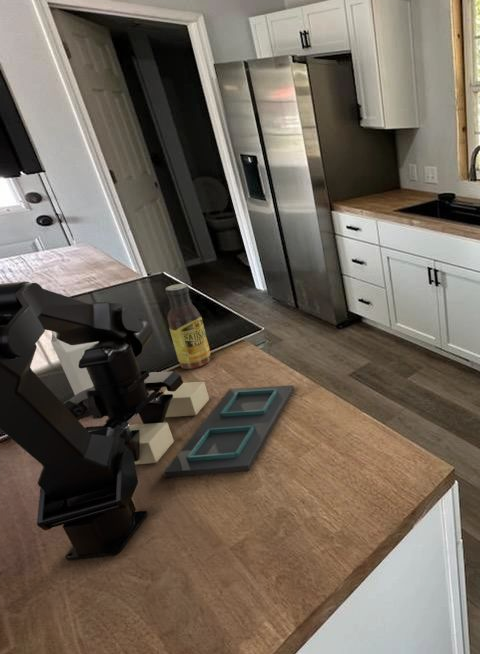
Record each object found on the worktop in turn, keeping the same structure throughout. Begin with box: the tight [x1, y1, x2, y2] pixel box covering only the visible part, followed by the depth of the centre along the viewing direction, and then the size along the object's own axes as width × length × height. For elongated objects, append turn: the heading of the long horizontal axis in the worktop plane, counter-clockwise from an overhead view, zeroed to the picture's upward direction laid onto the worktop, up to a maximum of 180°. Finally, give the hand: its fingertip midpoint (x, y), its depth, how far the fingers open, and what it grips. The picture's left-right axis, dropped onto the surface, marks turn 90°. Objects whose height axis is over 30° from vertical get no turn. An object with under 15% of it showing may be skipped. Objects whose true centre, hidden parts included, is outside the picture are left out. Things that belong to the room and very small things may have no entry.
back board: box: [163, 384, 295, 478], centre depth 79 cm, size 22×13×2 cm, turn 8°
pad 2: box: [163, 381, 210, 418], centre depth 83 cm, size 5×6×4 cm
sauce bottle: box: [164, 283, 212, 370], centre depth 95 cm, size 7×6×20 cm
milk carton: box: [50, 331, 99, 396], centre depth 82 cm, size 7×7×19 cm
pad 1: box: [129, 421, 175, 465], centre depth 72 cm, size 5×6×4 cm
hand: (145, 448), depth 73 cm, fingers closed on pad 1, 5 cm apart
